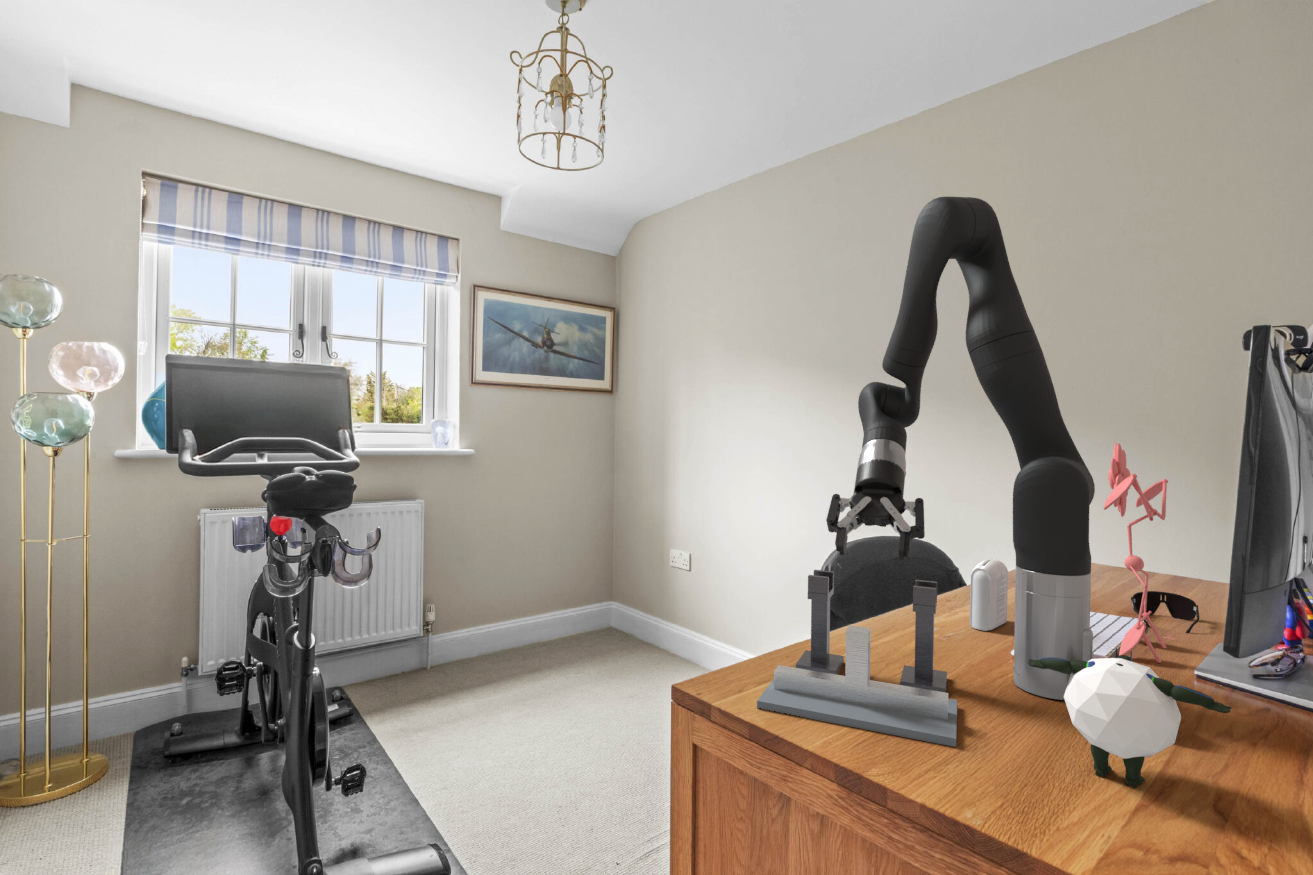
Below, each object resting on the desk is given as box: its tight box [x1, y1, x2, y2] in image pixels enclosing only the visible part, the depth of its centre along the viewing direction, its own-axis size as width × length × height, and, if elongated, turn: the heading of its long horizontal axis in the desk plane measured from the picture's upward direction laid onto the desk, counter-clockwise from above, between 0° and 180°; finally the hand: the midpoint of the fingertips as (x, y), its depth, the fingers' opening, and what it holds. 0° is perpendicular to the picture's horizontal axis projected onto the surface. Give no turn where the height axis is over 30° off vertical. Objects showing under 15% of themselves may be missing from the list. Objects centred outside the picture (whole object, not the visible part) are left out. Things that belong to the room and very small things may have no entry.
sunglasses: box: [1130, 590, 1200, 634], centre depth 127 cm, size 10×12×5 cm
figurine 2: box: [1028, 647, 1233, 789], centre depth 71 cm, size 18×10×13 cm, turn 44°
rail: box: [773, 624, 949, 720], centre depth 87 cm, size 22×2×10 cm, turn 65°
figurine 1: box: [1103, 443, 1176, 663], centre depth 113 cm, size 15×26×35 cm, turn 138°
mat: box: [756, 678, 958, 748], centre depth 87 cm, size 24×12×1 cm, turn 65°
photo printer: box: [969, 558, 1009, 632], centre depth 124 cm, size 10×4×12 cm, turn 134°
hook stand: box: [795, 569, 948, 693], centre depth 99 cm, size 21×7×14 cm, turn 65°
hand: (871, 554), depth 98 cm, fingers open, 8 cm apart
